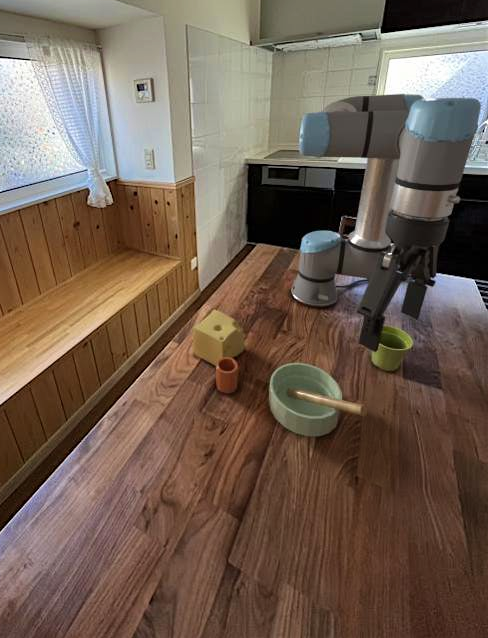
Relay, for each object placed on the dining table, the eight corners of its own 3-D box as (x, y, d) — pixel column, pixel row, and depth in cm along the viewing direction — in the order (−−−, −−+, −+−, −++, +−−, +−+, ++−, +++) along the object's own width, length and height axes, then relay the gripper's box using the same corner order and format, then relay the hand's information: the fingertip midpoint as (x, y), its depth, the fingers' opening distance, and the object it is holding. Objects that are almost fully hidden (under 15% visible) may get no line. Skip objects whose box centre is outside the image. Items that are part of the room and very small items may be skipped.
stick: (291, 387, 80) (365, 404, 65) (292, 395, 80) (367, 415, 65) (286, 388, 79) (360, 406, 64) (286, 397, 79) (361, 417, 64)
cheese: (244, 350, 95) (245, 322, 91) (222, 373, 87) (222, 343, 83) (215, 335, 101) (214, 308, 97) (192, 355, 94) (190, 327, 90)
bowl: (297, 371, 87) (299, 353, 84) (352, 413, 75) (356, 393, 73) (255, 401, 79) (256, 382, 77) (309, 452, 68) (312, 432, 65)
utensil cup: (227, 374, 87) (227, 353, 84) (241, 388, 83) (242, 366, 80) (212, 384, 84) (211, 363, 82) (225, 398, 80) (225, 376, 78)
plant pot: (411, 379, 83) (419, 351, 80) (370, 374, 85) (376, 347, 81) (397, 352, 91) (404, 326, 88) (360, 348, 93) (365, 323, 90)
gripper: (402, 244, 40) (371, 377, 48) (483, 201, 52) (447, 313, 61) (344, 226, 45) (325, 348, 54) (429, 191, 58) (403, 295, 67)
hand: (389, 330), depth 57 cm, fingers open, 13 cm apart
